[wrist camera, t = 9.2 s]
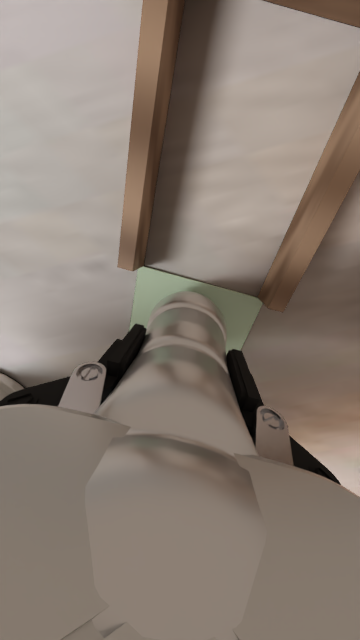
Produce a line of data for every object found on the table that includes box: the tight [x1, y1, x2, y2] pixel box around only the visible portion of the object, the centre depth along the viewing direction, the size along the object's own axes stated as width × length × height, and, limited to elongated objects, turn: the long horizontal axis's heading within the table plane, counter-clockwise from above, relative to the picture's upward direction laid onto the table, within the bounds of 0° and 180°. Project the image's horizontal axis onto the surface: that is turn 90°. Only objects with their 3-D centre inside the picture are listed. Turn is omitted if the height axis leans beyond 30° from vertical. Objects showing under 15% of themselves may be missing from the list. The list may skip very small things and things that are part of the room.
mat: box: [129, 266, 263, 355], centre depth 19 cm, size 12×12×1 cm
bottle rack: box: [118, 0, 360, 312], centre depth 11 cm, size 17×26×4 cm
